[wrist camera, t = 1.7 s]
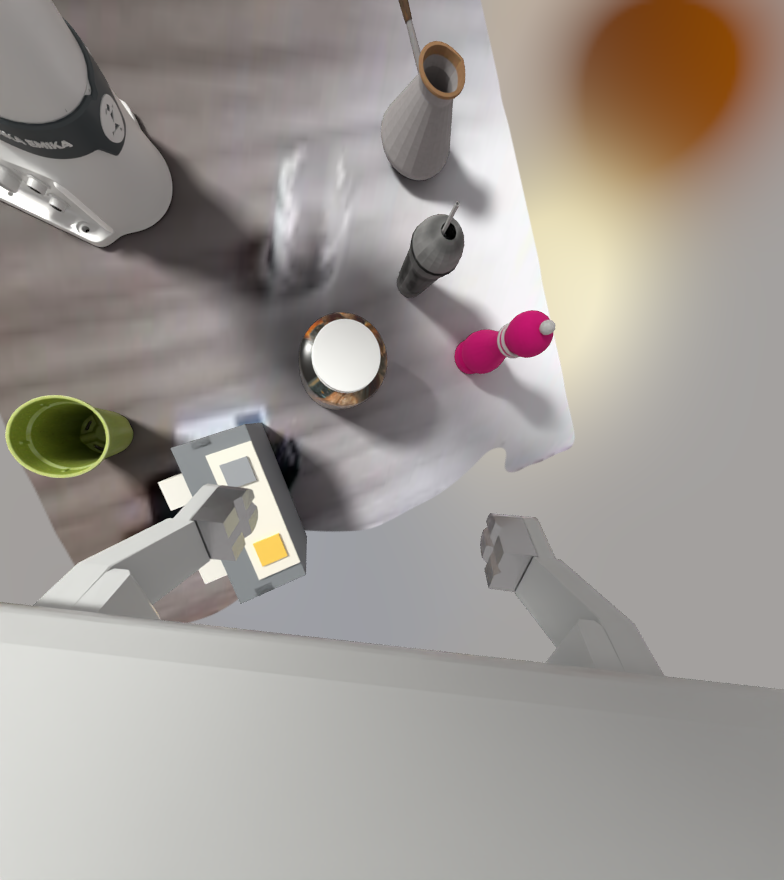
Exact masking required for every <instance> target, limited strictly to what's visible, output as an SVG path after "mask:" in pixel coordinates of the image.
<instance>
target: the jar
mask: <svg viewBox="0 0 784 880" xmlns="http://www.w3.org/2000/svg"><path fill="white" fill-rule="evenodd" d="M386 370H387V352H386V348H385V344H384V342H383V340H382V338H381V336H380V334H379V333H378V331H377V330H376V329H375V328H374V326H373V325H372V324H370V323H369V322H368V321H367V320H365V319H364V318H362V317H360V316H357V315H355V314H351V313H345V312H337V313H332V314H328V315H326V316H323V317H321V318H320V319H318V320H317V321H316V322H314V323H313V324H312V325H311V326H310V328H309V329H308V330H307V332H306V333H305V335H304V337H303V339H302V342H301V345H300V349H299V371H300V377H301V381H302V384H303V387H304V389H305V391H306V392H307V394H308V395H309V397H310V398H311V399H312V400H313V401H314V402H316V403H317V404H319V405H320V406H322V407H325V408H328V409H333V410H342V409H347V408H351V407H354V406H357V405H359V404H361V403H363V402H365V401H366V400H368V399H369V398H370V397H372V396H373V395H374V394H375V393H376V391H377V390H378V389H379V387H380V386H381V384H382V382H383V380H384V377H385V374H386Z"/></svg>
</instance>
